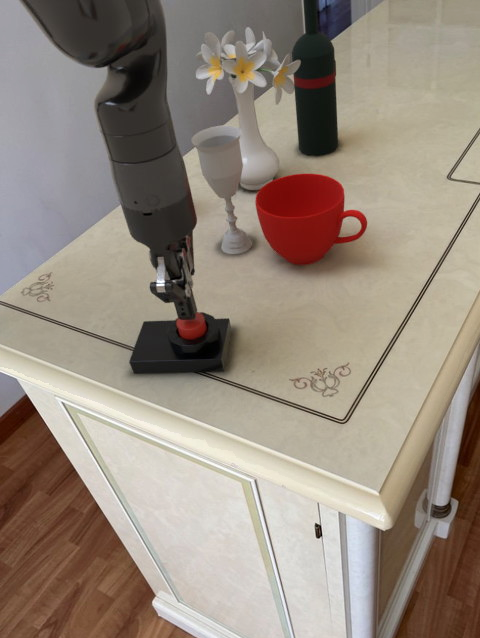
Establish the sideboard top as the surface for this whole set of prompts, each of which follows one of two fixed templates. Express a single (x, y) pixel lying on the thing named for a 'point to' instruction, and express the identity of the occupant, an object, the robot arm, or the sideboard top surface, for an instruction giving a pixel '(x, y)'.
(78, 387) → the sideboard top surface
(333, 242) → the ceramic cup
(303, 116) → the wine bottle
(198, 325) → the red short cylinder
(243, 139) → the flower vase
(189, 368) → the black flat block
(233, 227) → the chalice
